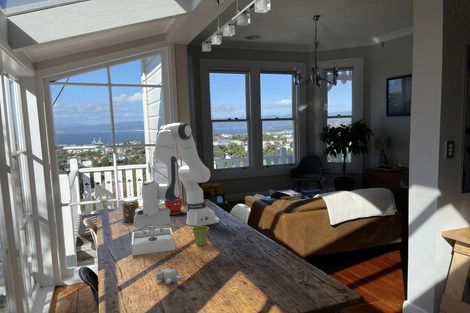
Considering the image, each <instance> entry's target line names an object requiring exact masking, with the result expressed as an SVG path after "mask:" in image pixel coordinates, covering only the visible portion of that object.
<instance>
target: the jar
mask: <svg viewBox="0 0 470 313" xmlns="http://www.w3.org/2000/svg"><path fill="white" fill-rule="evenodd" d="M121 205H122V207H121V208H122V220H123V222H124V221H125V223H134V216H135V210H136V209H138V208H140V206H139V205H140V204H139V201H138V200H137V199H136V198H135V197H131V198H125V199H124V200H123V202H122V203H121Z"/></svg>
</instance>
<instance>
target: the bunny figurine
mask: <svg viewBox="0 0 470 313" xmlns="http://www.w3.org/2000/svg"><path fill="white" fill-rule="evenodd" d="M178 272H179V271H178V269H177V268H174V269H173V268H172V269H170V267H168V268H167V267H166V268H164V269H159V272H158V273H157V274H155V278H156V279H155V280H156V281H164V284H166V285H169V284H171V283H176V282H177V281H178V280H180V281H182V280H185V278H184V276H183V275H178Z"/></svg>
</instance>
